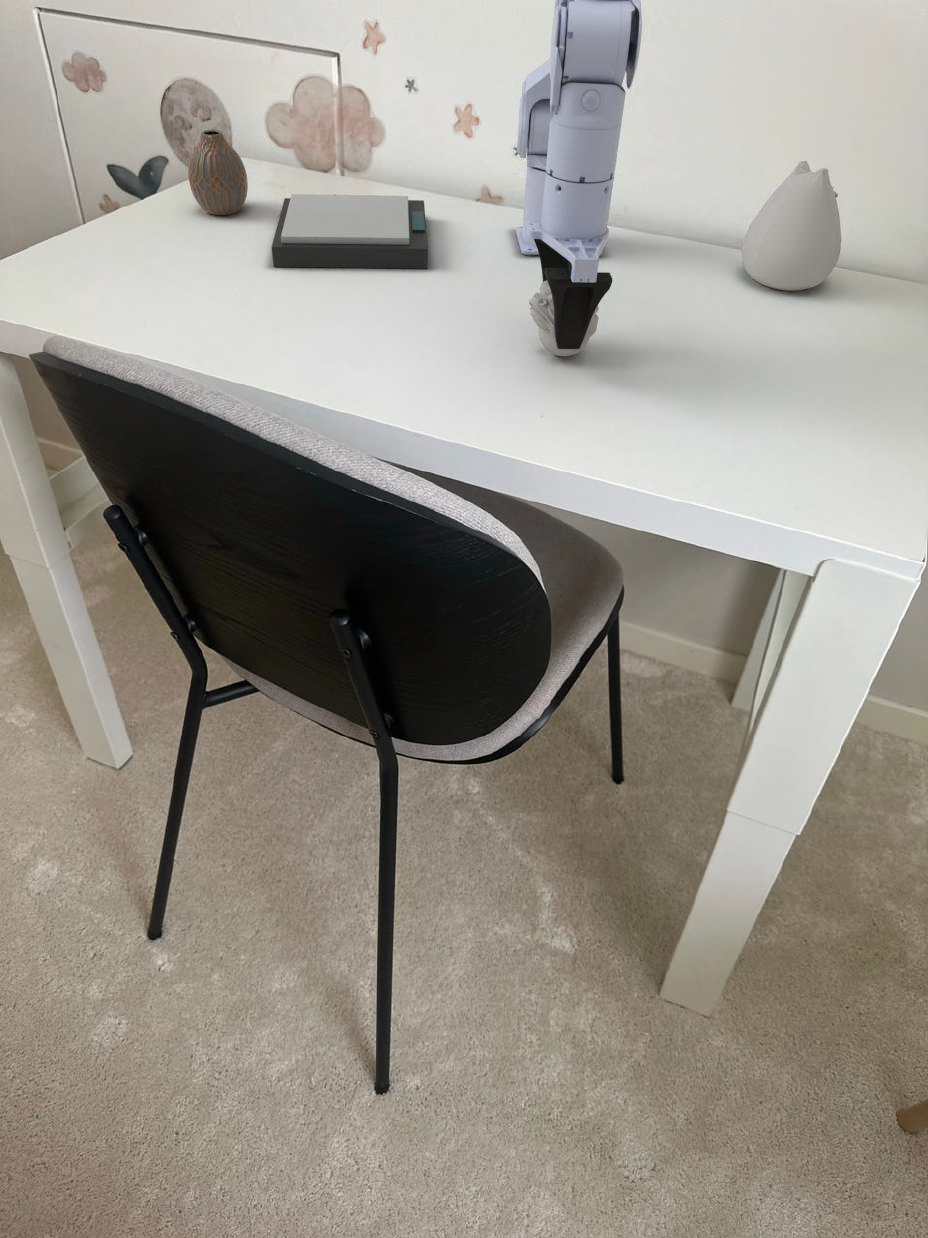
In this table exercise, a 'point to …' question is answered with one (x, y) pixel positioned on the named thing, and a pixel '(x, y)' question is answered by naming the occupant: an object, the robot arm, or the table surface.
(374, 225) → the scale
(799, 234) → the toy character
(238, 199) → the vase
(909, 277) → the table surface
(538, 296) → the frog figurine
